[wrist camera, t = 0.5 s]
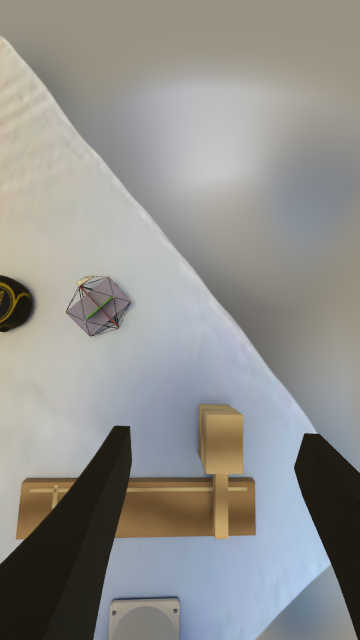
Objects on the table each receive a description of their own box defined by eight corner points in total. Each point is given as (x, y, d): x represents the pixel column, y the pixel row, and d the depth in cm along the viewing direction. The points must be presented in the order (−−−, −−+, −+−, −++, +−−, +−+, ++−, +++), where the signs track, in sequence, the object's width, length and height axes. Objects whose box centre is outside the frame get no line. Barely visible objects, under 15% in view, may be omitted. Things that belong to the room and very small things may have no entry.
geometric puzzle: (148, 320, 32) (114, 278, 26) (107, 356, 31) (63, 321, 26) (124, 296, 37) (90, 256, 31) (87, 327, 36) (46, 291, 30)
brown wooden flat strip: (252, 529, 32) (255, 535, 31) (20, 533, 30) (15, 540, 29) (252, 477, 32) (255, 482, 31) (26, 478, 31) (21, 483, 30)
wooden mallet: (228, 511, 32) (243, 547, 26) (197, 512, 32) (205, 548, 26) (228, 404, 34) (242, 414, 28) (198, 404, 33) (206, 414, 28)
